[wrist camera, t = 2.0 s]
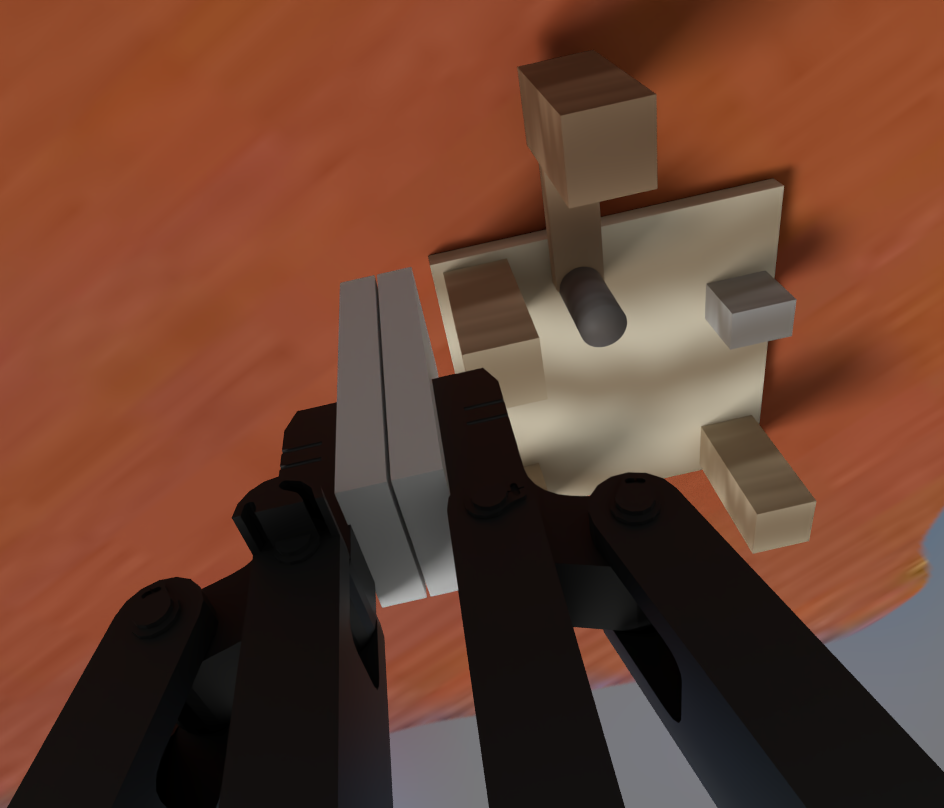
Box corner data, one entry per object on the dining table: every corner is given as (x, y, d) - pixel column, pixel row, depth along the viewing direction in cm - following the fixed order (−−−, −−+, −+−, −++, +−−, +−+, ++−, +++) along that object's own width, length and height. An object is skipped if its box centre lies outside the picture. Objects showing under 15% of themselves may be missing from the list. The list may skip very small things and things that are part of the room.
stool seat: (428, 255, 33) (446, 347, 26) (773, 178, 33) (875, 250, 26) (486, 506, 43) (509, 614, 37) (748, 446, 43) (817, 545, 37)
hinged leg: (517, 66, 27) (560, 115, 21) (593, 49, 27) (656, 94, 21) (546, 302, 33) (585, 387, 28) (607, 288, 33) (659, 370, 28)
